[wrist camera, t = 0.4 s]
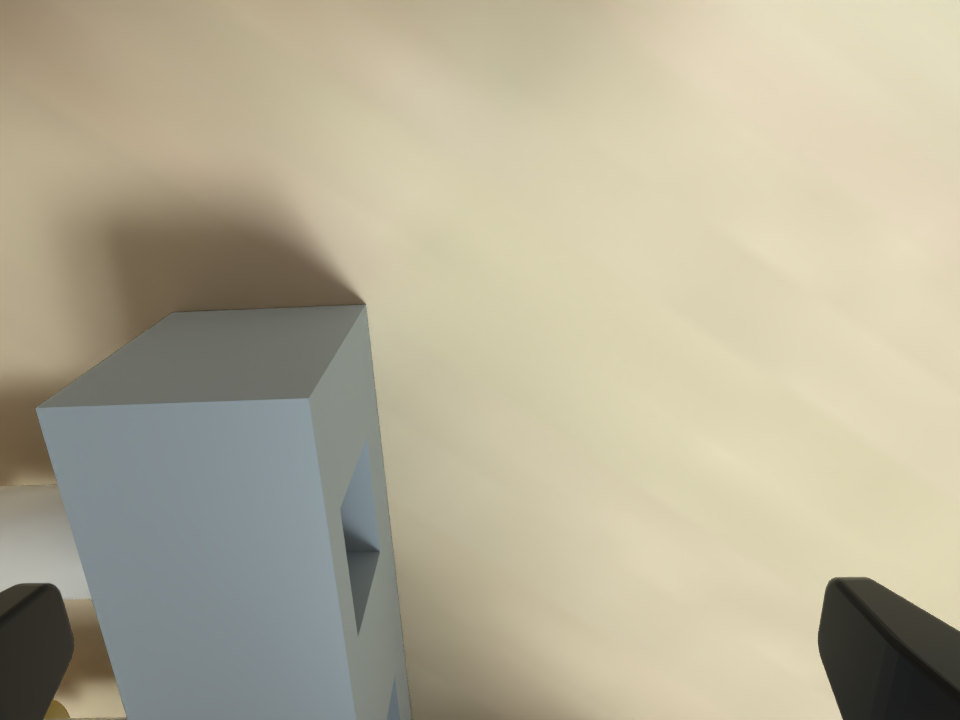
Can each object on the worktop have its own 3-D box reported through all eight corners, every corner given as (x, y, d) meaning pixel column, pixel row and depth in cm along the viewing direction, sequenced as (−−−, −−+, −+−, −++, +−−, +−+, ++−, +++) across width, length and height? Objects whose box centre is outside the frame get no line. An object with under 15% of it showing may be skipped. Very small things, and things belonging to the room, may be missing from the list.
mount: (418, 781, 29) (395, 984, 22) (271, 783, 29) (205, 985, 23) (365, 304, 22) (308, 398, 15) (172, 312, 22) (35, 408, 16)
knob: (228, 555, 23) (170, 655, 19) (-36, 561, 24) (-149, 662, 20) (202, 432, 22) (133, 514, 18) (-80, 442, 22) (-213, 524, 18)
